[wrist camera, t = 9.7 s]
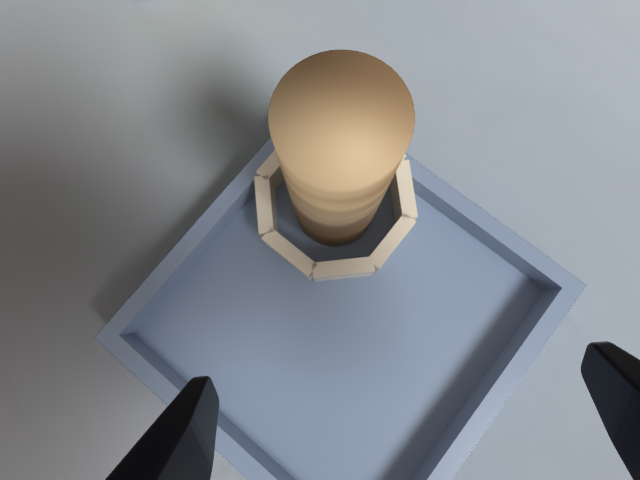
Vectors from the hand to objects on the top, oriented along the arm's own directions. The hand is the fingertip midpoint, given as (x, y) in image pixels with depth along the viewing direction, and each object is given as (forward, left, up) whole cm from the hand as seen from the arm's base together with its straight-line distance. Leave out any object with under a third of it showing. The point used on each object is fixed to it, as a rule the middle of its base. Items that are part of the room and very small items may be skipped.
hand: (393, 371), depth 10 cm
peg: (+4, +5, -10) cm, 12 cm away
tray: (0, +2, -11) cm, 11 cm away
